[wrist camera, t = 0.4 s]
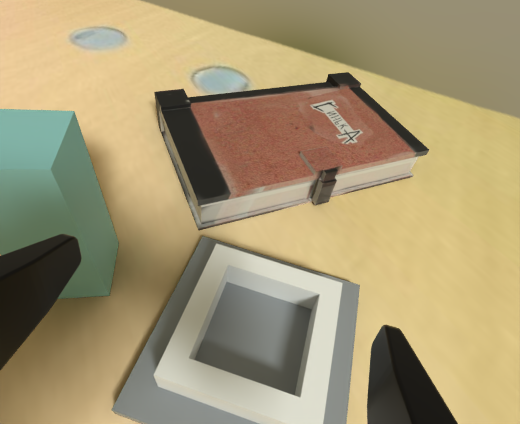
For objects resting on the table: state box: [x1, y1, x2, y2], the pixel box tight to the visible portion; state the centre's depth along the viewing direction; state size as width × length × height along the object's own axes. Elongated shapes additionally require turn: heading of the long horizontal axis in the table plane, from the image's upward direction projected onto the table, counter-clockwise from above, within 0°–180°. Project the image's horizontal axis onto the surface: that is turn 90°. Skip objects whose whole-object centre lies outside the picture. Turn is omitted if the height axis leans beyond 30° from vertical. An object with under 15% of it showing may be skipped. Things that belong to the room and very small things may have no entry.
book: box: [155, 72, 429, 230], centre depth 38 cm, size 26×18×5 cm
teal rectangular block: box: [0, 109, 119, 299], centre depth 22 cm, size 5×5×13 cm
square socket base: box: [112, 236, 360, 424], centre depth 23 cm, size 14×14×4 cm
